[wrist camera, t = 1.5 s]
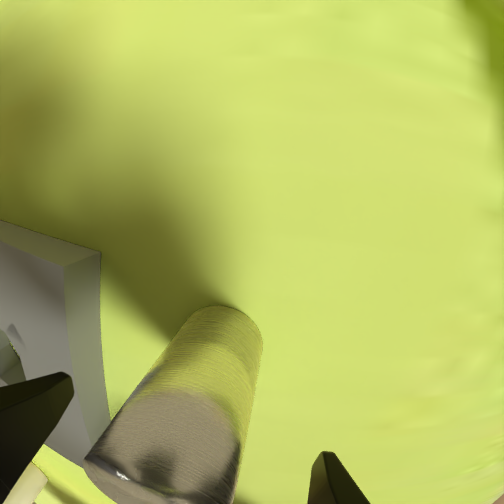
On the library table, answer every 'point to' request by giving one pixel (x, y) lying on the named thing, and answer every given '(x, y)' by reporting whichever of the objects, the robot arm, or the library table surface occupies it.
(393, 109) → the library table surface
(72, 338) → the grey peg base
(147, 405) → the long pin
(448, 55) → the library table surface
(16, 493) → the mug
